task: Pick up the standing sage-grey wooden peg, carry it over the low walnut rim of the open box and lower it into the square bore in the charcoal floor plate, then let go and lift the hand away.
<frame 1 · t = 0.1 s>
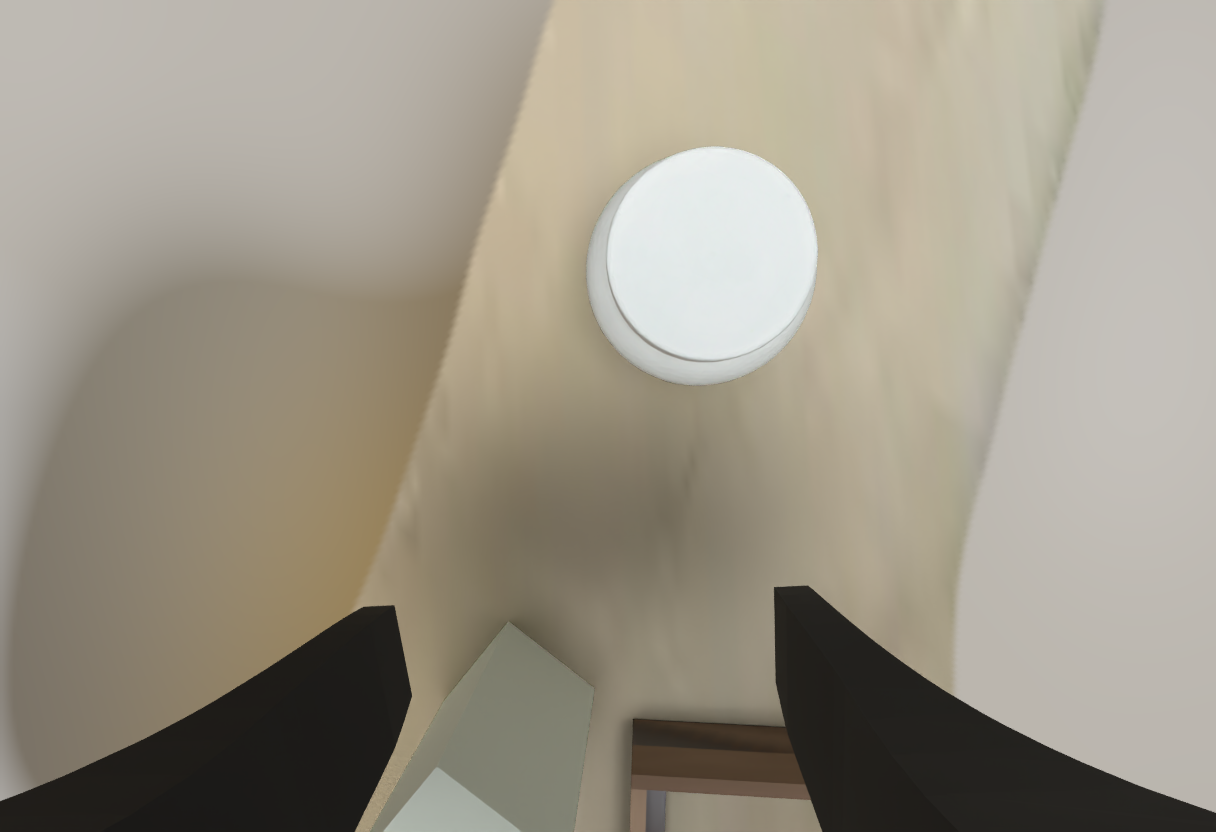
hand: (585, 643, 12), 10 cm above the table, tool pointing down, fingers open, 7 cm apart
supplement bottle: (682, 293, 22), on the table
sage peg: (518, 694, 23), on the table
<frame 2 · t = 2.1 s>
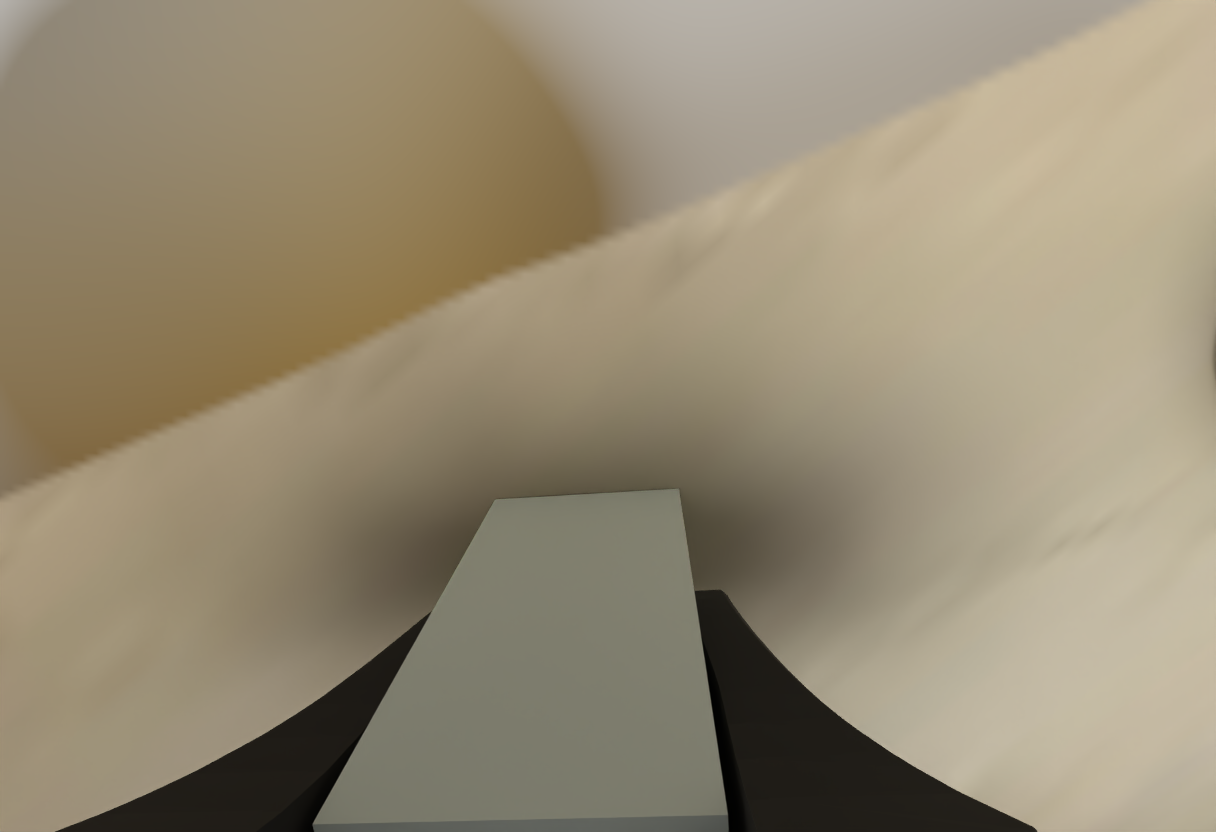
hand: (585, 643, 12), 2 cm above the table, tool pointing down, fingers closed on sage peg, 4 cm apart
sage peg: (594, 576, 14), on the table, touching gripper
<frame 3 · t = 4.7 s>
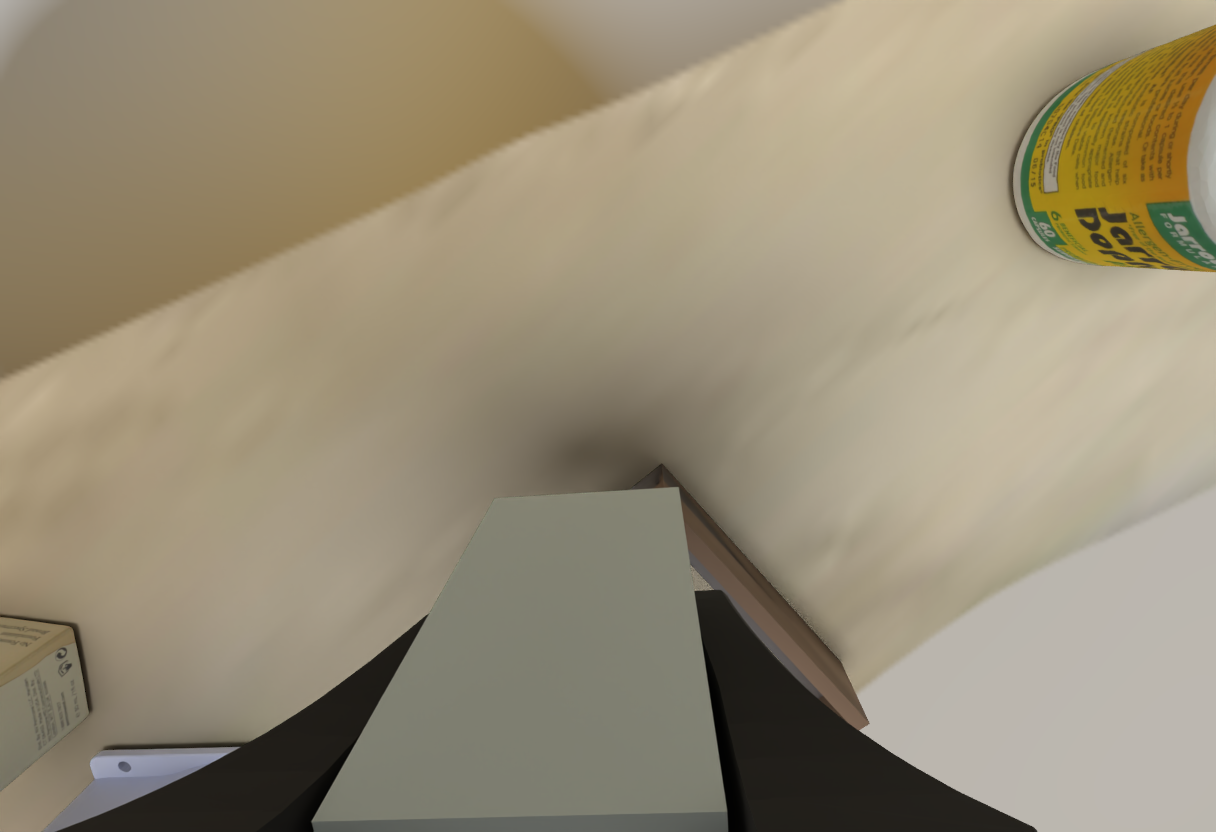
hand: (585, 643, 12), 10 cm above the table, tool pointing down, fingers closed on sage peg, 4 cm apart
supplement bottle: (1097, 169, 18), on the table
bore box: (645, 645, 23), on the table
sage peg: (594, 575, 14), point 7 cm above the table, touching gripper
skincare box: (14, 659, 25), on the table
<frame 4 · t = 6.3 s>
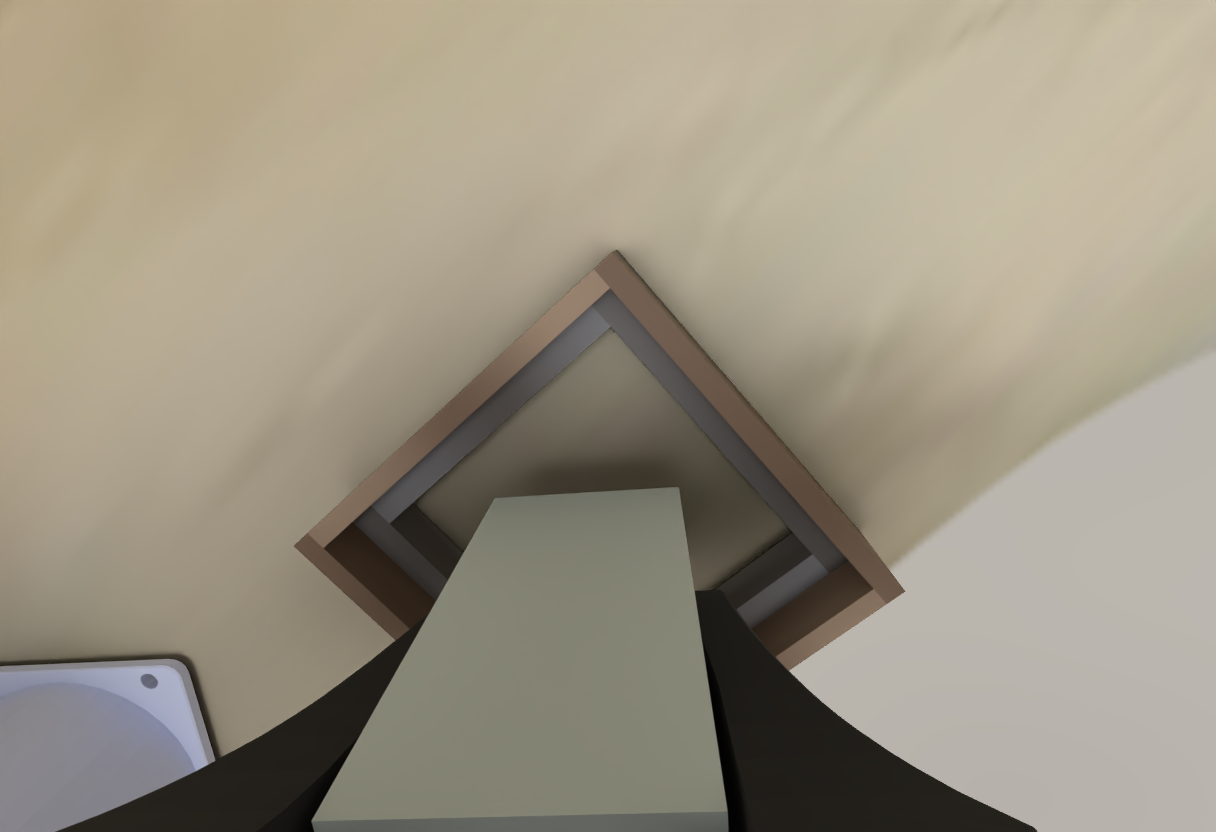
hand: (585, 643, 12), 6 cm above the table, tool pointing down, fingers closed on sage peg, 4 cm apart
bore box: (602, 514, 18), on the table
sage peg: (594, 575, 14), point 3 cm above the table, touching gripper
when the fingers open (3 cm above the table, at t = 7.3 s): sage peg stays where it is, resting in bore box.
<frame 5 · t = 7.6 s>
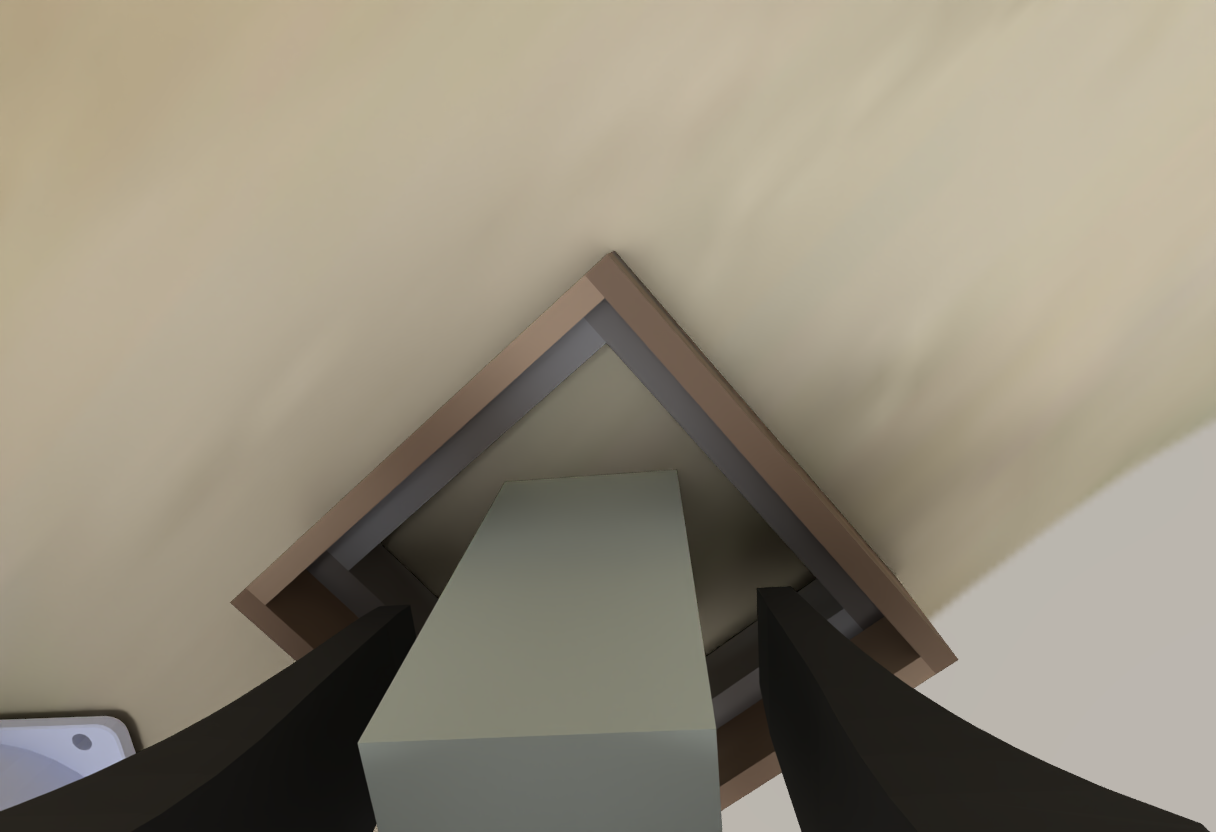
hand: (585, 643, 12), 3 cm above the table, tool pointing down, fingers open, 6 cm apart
bore box: (597, 556, 15), on the table
sage peg: (598, 553, 15), resting in bore box
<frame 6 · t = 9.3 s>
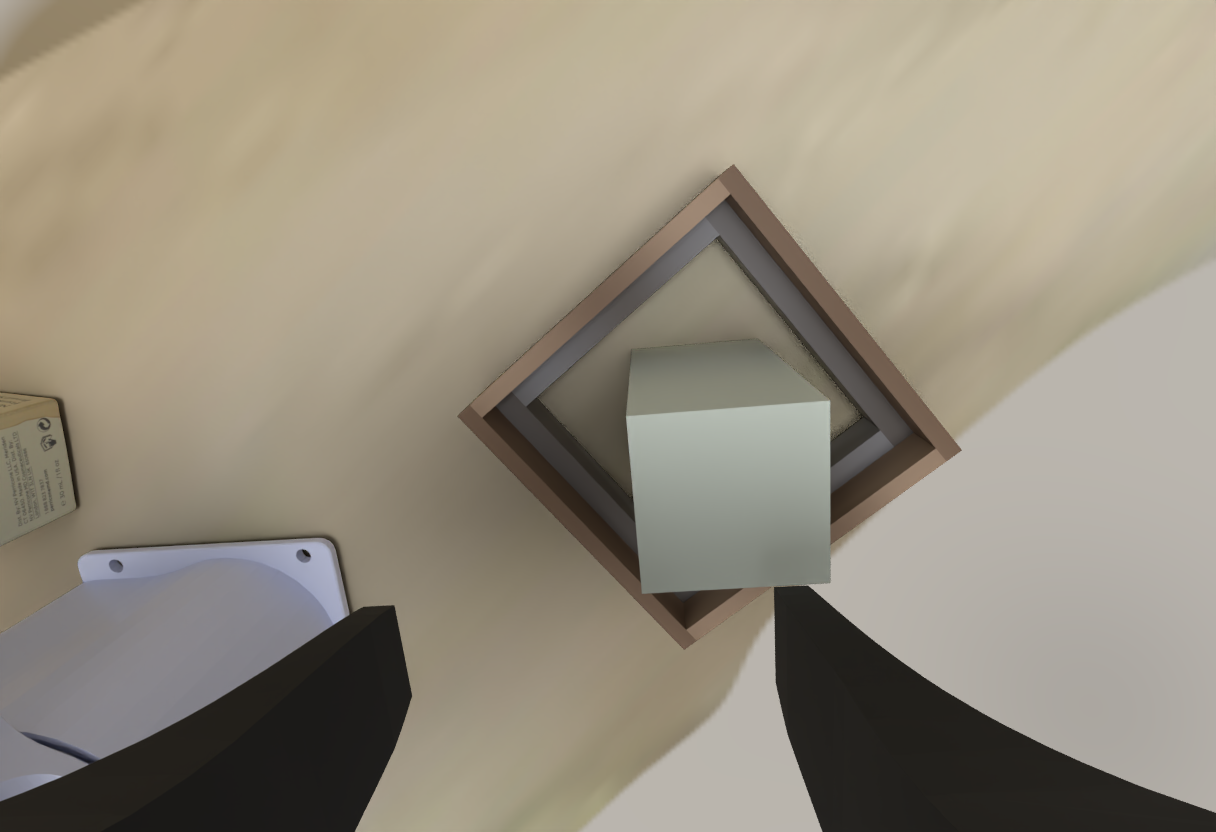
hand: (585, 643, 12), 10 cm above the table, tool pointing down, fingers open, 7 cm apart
bore box: (697, 405, 21), on the table
sage peg: (697, 404, 21), resting in bore box
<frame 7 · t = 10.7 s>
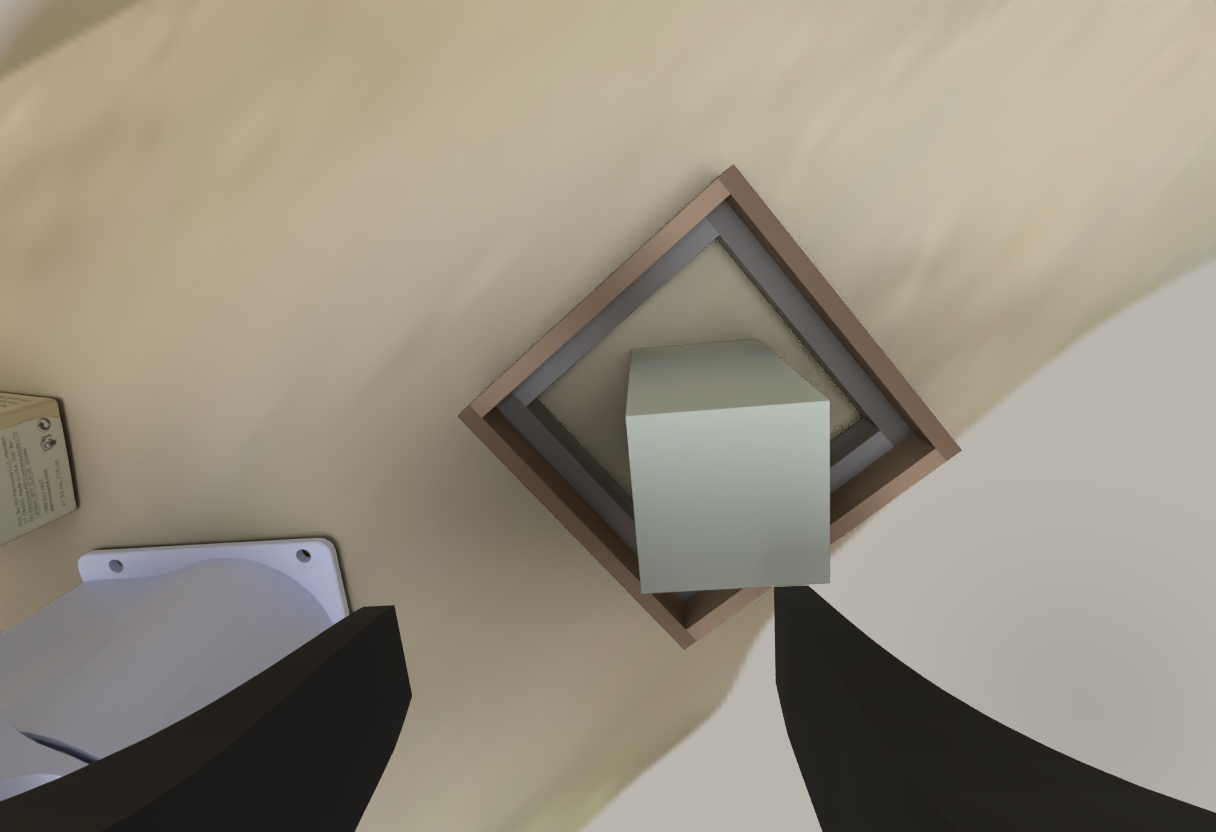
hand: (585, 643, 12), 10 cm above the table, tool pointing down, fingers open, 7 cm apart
bore box: (697, 405, 21), on the table
sage peg: (697, 404, 21), resting in bore box
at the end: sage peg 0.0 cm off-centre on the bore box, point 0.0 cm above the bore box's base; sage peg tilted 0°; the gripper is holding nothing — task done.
